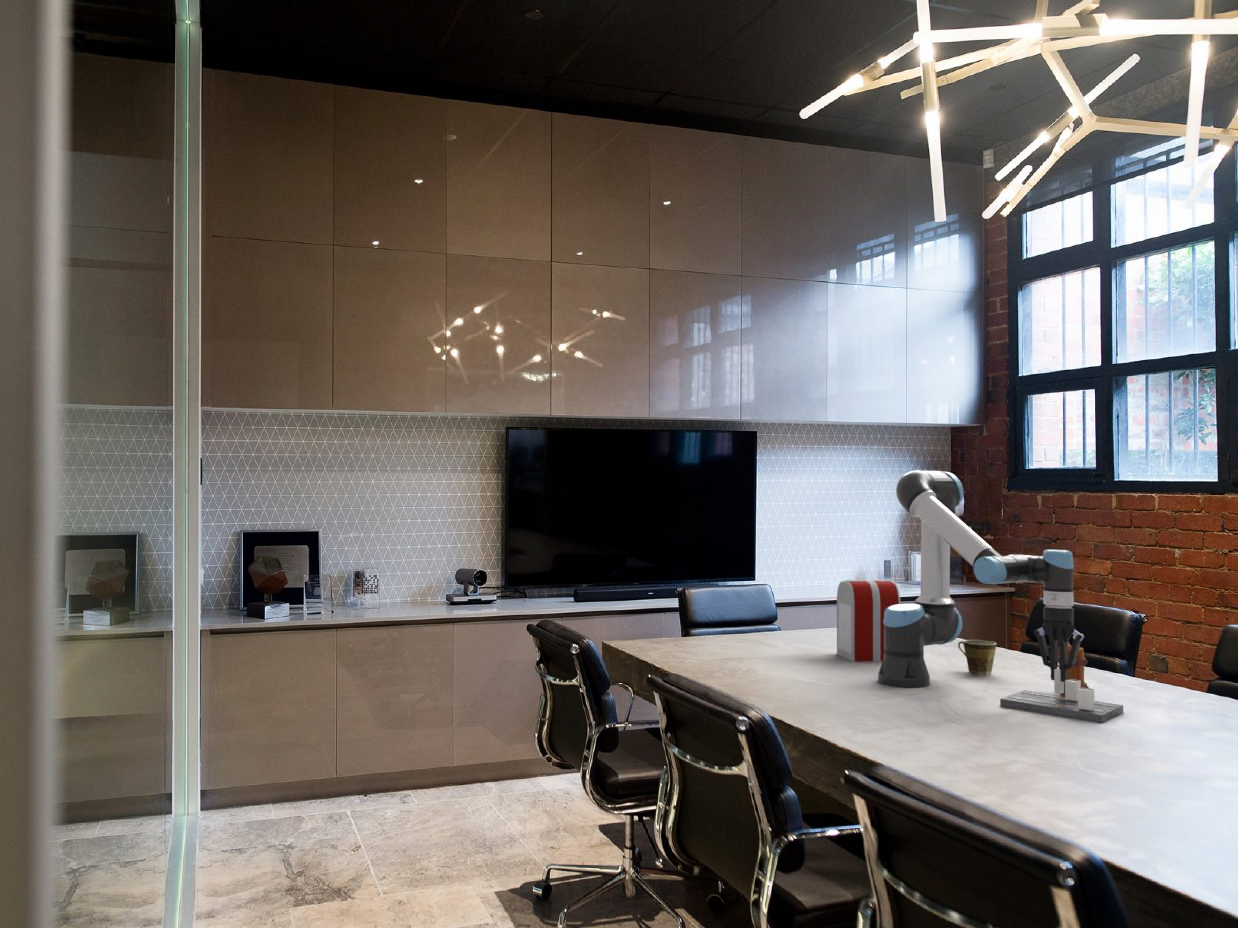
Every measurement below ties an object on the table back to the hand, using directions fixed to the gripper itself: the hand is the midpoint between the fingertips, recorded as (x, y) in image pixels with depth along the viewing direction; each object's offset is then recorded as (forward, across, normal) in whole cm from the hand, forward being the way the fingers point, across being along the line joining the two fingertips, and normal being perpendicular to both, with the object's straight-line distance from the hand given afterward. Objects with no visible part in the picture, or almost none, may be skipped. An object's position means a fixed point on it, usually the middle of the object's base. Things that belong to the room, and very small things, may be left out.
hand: (1059, 692), depth 259 cm
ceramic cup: (+4, -37, +30) cm, 47 cm away
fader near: (+1, +10, -9) cm, 14 cm away
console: (+3, +2, -4) cm, 6 cm away
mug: (+4, -3, +16) cm, 16 cm away
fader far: (+1, +4, 0) cm, 4 cm away
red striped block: (+4, -76, +30) cm, 82 cm away
